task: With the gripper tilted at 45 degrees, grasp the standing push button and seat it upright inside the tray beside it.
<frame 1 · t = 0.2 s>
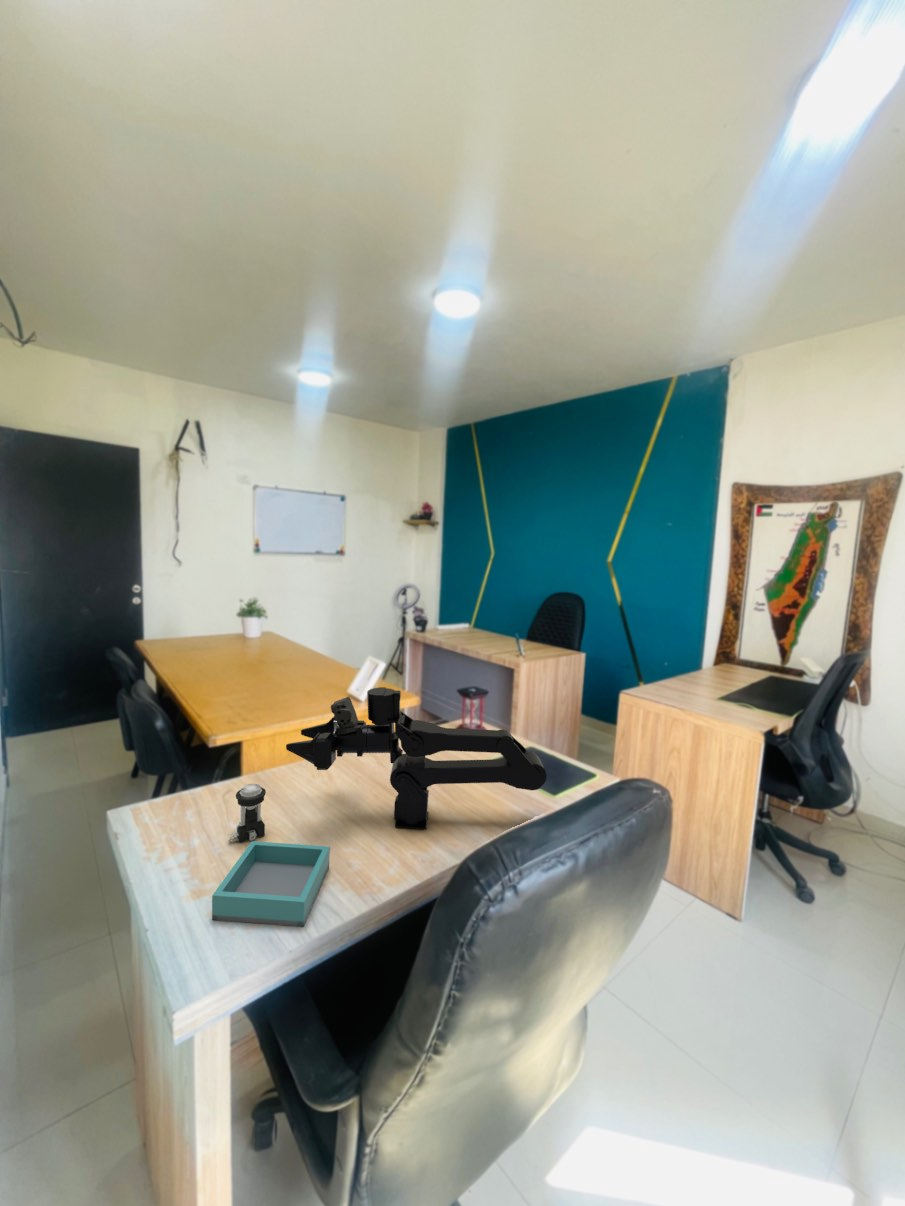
hand: (294, 739, 104), 17 cm above the table, tool horizontal, fingers open, 9 cm apart
tray: (275, 891, 82), on the table
push button: (246, 839, 96), on the table
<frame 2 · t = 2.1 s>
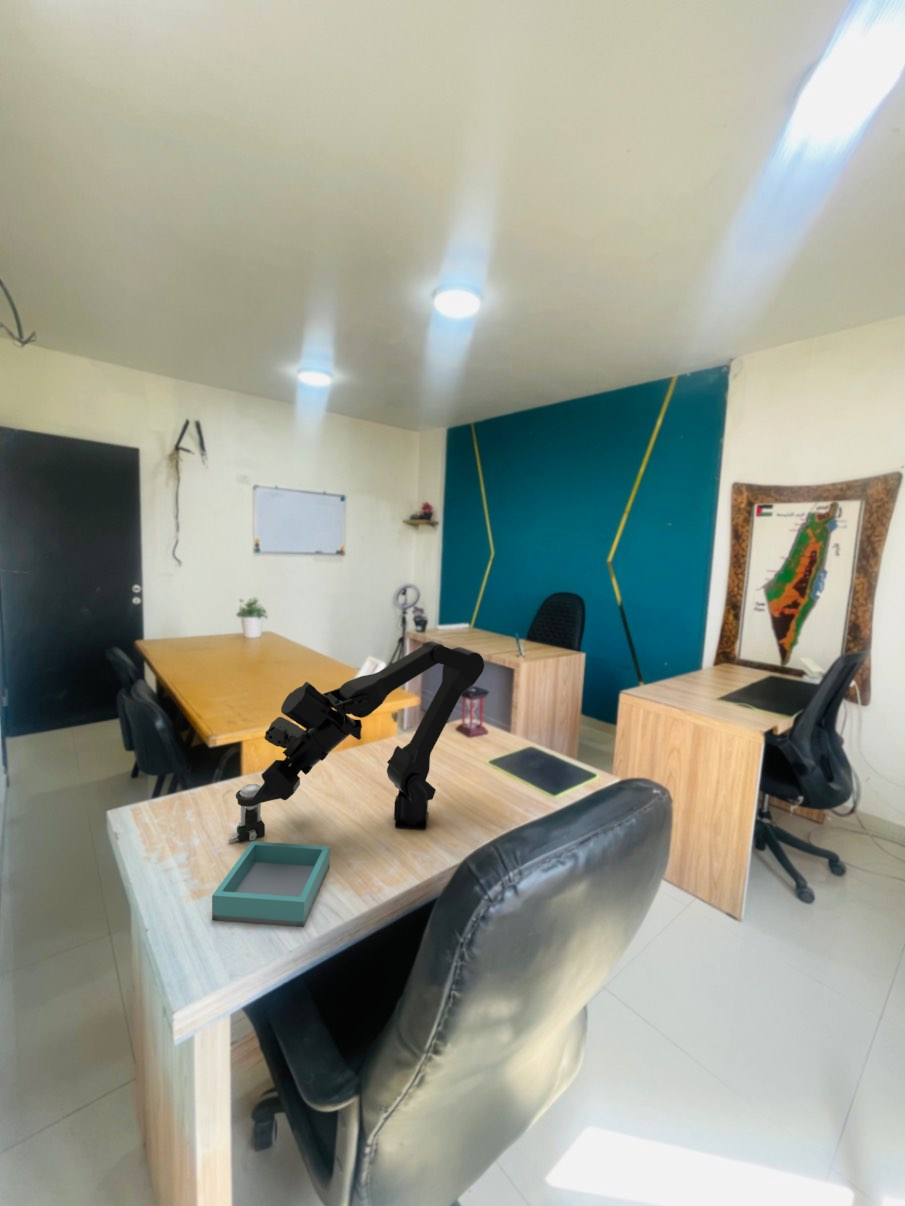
hand: (263, 789, 95), 10 cm above the table, tool tilted 45°, fingers open, 9 cm apart
nothing on the table moved.
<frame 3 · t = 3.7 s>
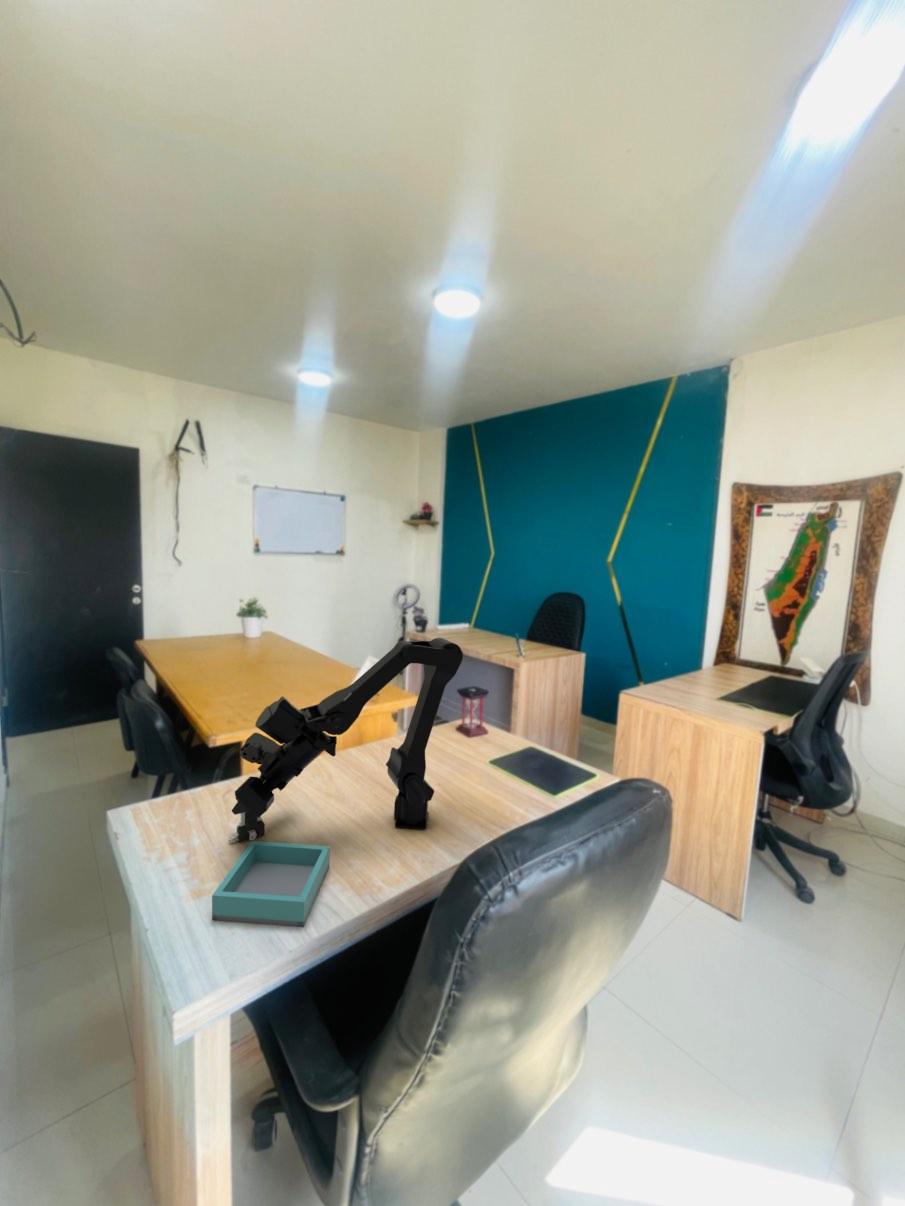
hand: (240, 805, 96), 7 cm above the table, tool tilted 45°, fingers closed on push button, 5 cm apart
push button: (246, 838, 96), on the table, touching gripper
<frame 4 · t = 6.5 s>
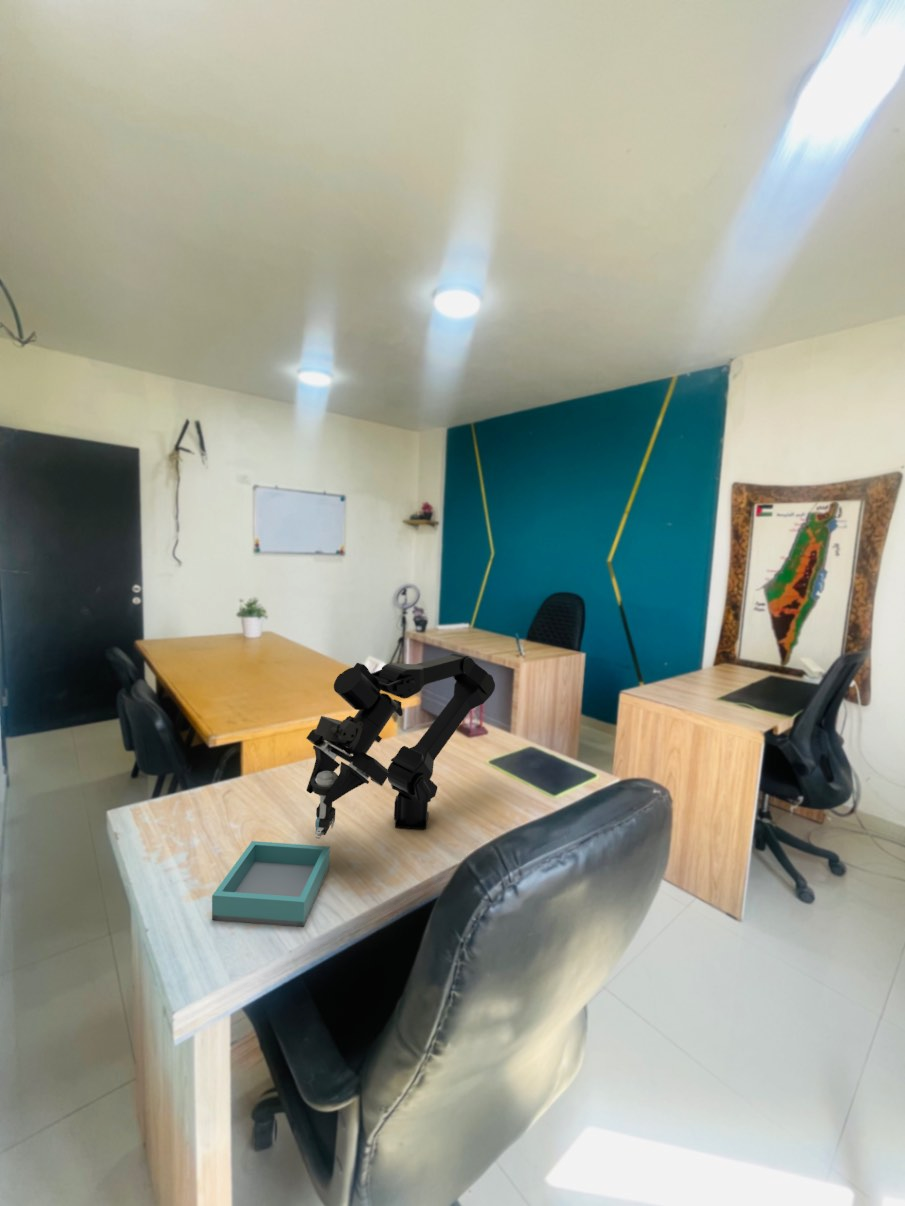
hand: (316, 798, 87), 13 cm above the table, tool tilted 45°, fingers closed on push button, 5 cm apart
push button: (323, 830, 89), point 7 cm above the table, touching gripper
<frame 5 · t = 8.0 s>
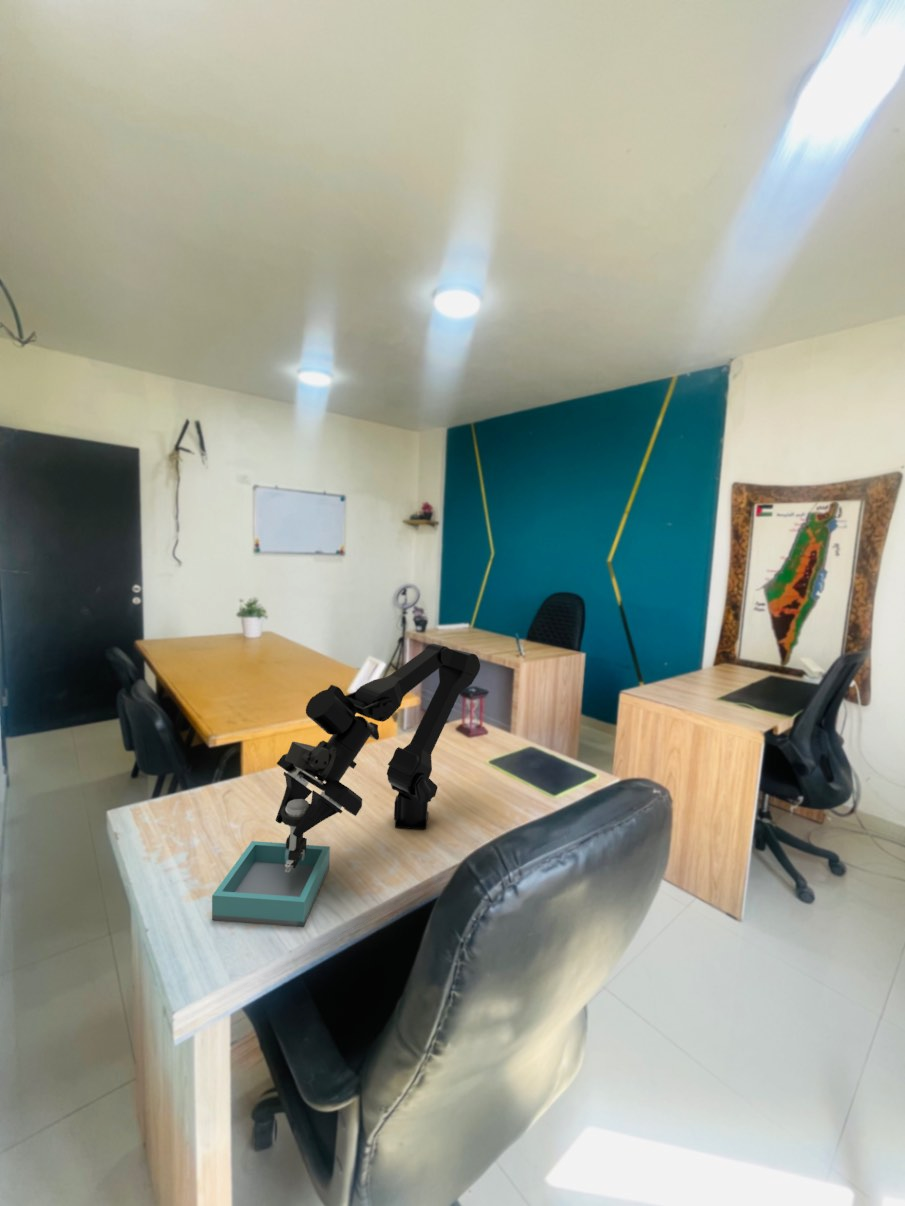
hand: (286, 828, 82), 10 cm above the table, tool tilted 45°, fingers closed on push button, 5 cm apart
push button: (293, 863, 84), point 4 cm above the table, touching gripper
when the fingers open (9 cm above the table, at t = 9.1 s): push button drops 1 cm, resting on tray.
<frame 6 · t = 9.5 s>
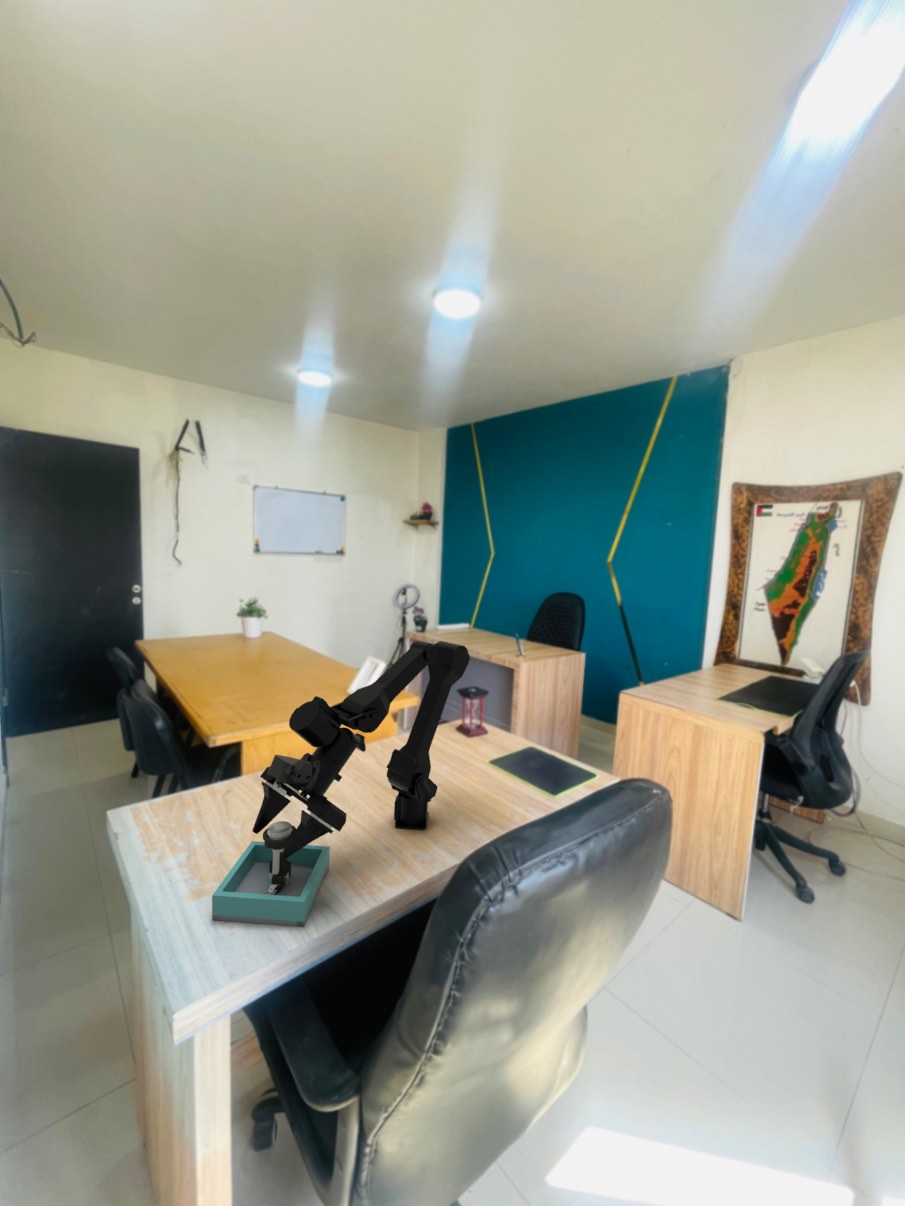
hand: (268, 844, 80), 9 cm above the table, tool tilted 45°, fingers open, 9 cm apart
push button: (277, 887, 82), point 1 cm above the table, touching tray
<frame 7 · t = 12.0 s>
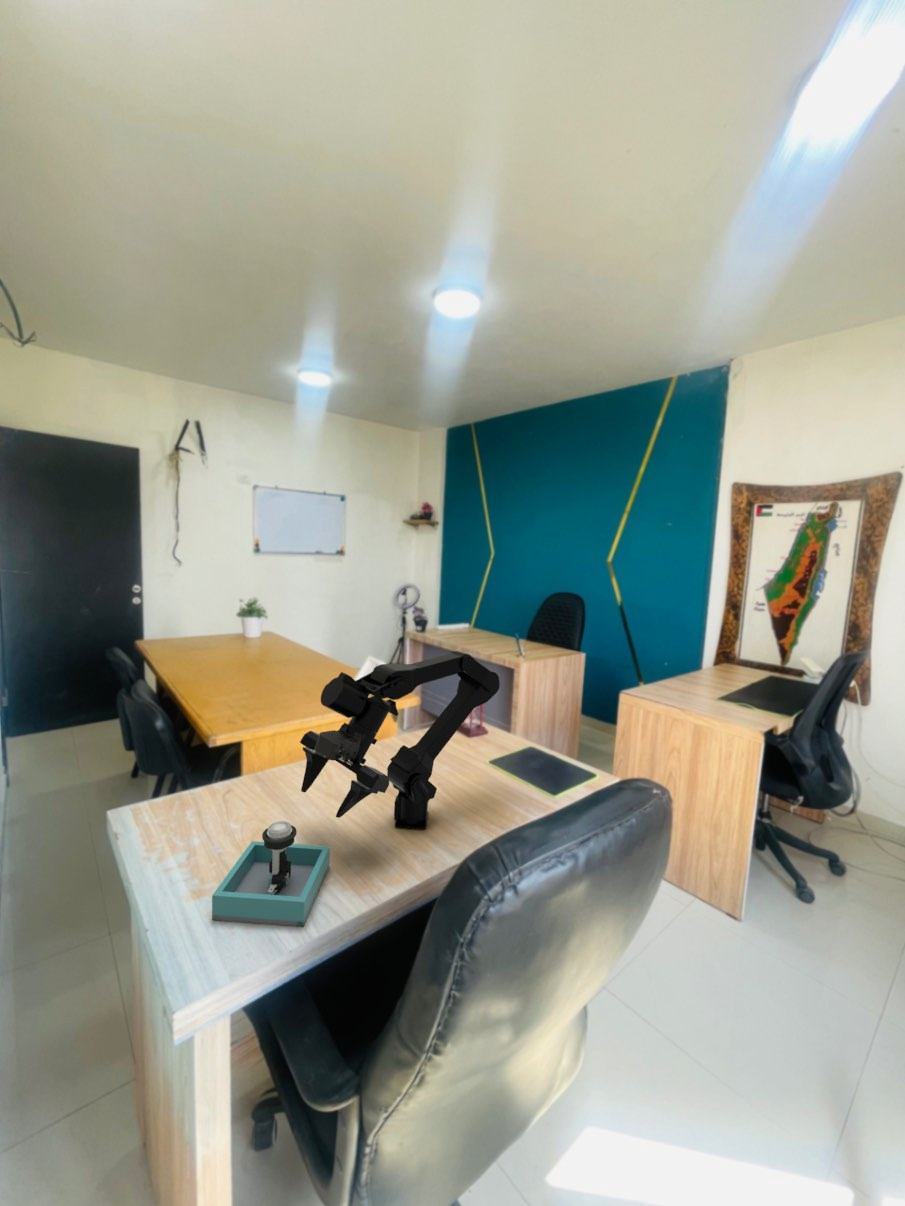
hand: (319, 804, 91), 10 cm above the table, tool tilted 35°, fingers open, 9 cm apart
nothing on the table moved.
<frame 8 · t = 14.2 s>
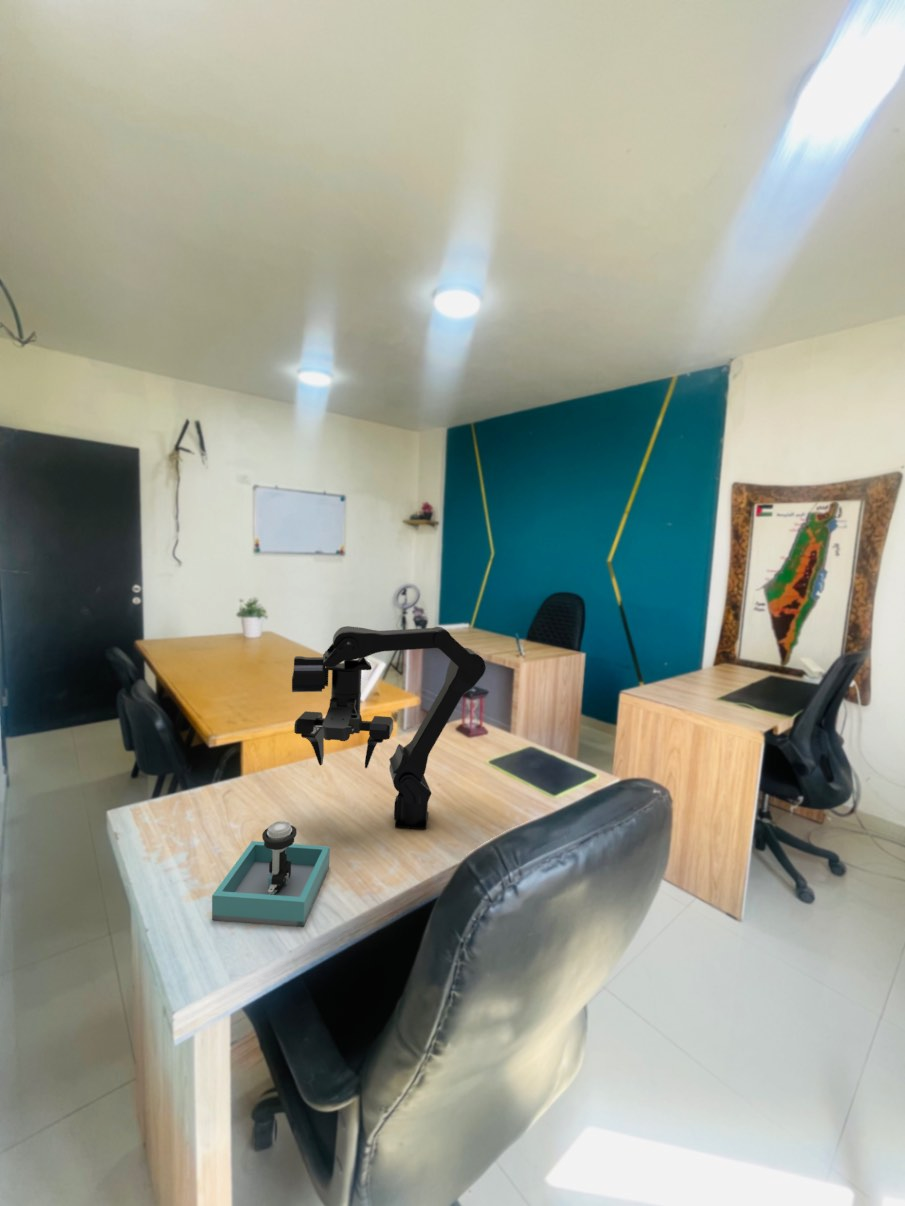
hand: (343, 766, 101), 13 cm above the table, tool pointing down, fingers open, 9 cm apart
nothing on the table moved.
at the end: push button inside the target area on the tray (0.3 cm from its centre), point 0.6 cm above the tray's base; push button tilted 0°; the gripper is holding nothing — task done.
